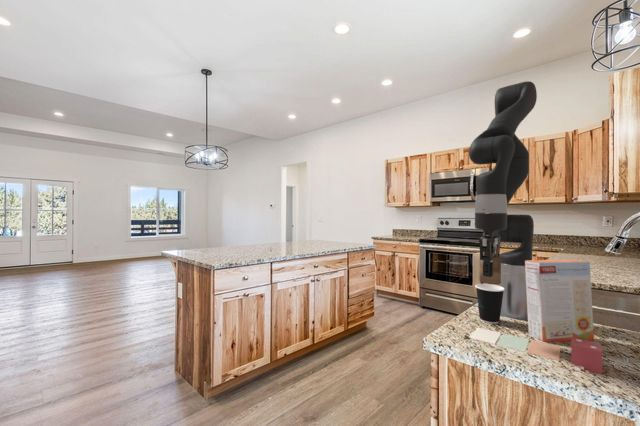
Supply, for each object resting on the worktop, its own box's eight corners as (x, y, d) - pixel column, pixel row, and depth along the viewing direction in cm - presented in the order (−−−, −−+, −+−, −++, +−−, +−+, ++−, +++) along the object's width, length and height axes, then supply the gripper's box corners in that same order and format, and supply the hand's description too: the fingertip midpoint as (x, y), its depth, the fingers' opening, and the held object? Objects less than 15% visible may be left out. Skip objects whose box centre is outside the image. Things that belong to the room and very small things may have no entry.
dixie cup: (509, 324, 91) (510, 288, 91) (495, 329, 87) (495, 291, 87) (483, 316, 98) (484, 282, 98) (469, 320, 94) (469, 285, 94)
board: (476, 328, 88) (476, 326, 88) (562, 348, 75) (562, 345, 75) (466, 340, 79) (466, 338, 79) (561, 365, 67) (561, 362, 67)
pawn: (482, 279, 84) (482, 241, 84) (502, 281, 81) (502, 243, 81) (477, 282, 81) (477, 243, 80) (498, 285, 77) (499, 244, 77)
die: (571, 358, 70) (571, 336, 70) (600, 365, 67) (600, 343, 67) (571, 366, 66) (571, 344, 66) (602, 375, 63) (602, 351, 63)
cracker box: (574, 334, 84) (571, 259, 85) (595, 342, 78) (592, 261, 79) (526, 334, 83) (523, 259, 84) (543, 343, 77) (540, 261, 78)
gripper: (481, 211, 88) (481, 268, 89) (468, 211, 78) (467, 277, 78) (511, 211, 83) (510, 272, 84) (501, 211, 73) (500, 281, 73)
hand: (490, 274), depth 81 cm, fingers closed on pawn, 5 cm apart
